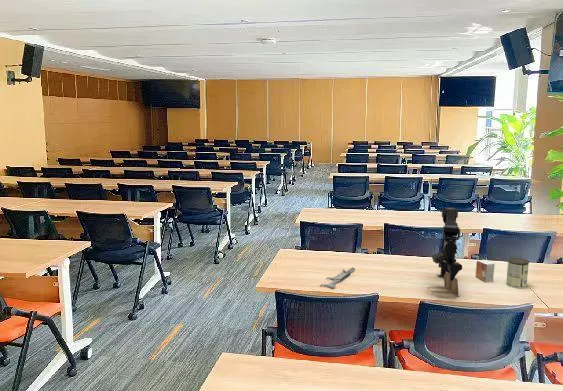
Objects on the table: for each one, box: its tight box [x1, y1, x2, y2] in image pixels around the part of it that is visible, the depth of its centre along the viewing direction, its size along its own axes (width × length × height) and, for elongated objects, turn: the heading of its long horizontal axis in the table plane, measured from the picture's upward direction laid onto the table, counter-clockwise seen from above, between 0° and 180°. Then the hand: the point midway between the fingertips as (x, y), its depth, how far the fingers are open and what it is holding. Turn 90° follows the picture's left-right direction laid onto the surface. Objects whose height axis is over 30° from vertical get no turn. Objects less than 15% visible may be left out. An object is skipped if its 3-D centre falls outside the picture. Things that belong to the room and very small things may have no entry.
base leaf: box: [427, 285, 460, 299], centre depth 253 cm, size 14×11×2 cm
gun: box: [319, 266, 356, 290], centre depth 277 cm, size 36×4×10 cm
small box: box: [474, 259, 496, 283], centre depth 274 cm, size 8×6×10 cm
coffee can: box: [506, 257, 530, 289], centre depth 265 cm, size 10×10×14 cm
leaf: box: [443, 272, 459, 295], centre depth 253 cm, size 14×10×2 cm
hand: (447, 277), depth 252 cm, fingers open, 9 cm apart
